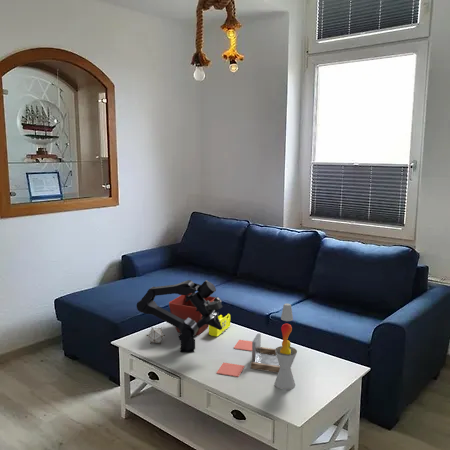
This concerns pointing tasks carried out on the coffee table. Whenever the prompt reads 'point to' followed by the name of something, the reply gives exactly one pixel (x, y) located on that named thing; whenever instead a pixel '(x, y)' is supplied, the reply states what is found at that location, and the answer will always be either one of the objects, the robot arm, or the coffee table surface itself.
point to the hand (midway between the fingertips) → (221, 329)
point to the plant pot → (187, 310)
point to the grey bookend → (262, 357)
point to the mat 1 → (230, 369)
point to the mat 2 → (244, 345)
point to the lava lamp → (285, 353)
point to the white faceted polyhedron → (155, 335)
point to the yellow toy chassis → (224, 323)
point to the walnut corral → (266, 366)
